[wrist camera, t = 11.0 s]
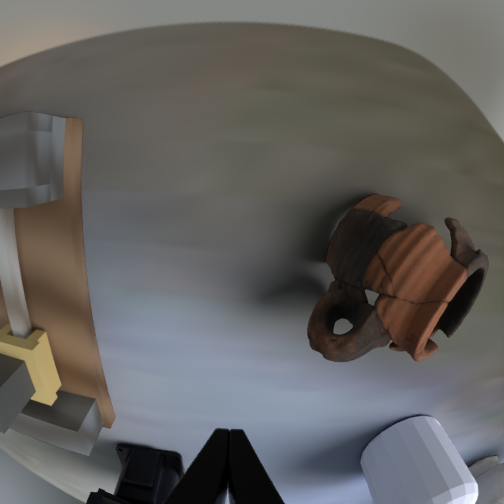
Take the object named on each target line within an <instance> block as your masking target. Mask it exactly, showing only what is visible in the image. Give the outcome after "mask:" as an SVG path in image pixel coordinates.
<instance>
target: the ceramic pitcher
mask: <svg viewBox="0 0 504 504" xmlns="http://www.w3.org/2000/svg"><path fill="white" fill-rule="evenodd" d="M497 462H498V456H491V457H487V458H484V459H481V460H478V461H477V462H475V463H474V464H473V465H471V466H470V467H469V468H468V469H469V471H470V472H471V474H472V476H473V477H474V479H475V481H476V482H477V484H478V497H477V500H476V503H475V504H504V463H501V464H499V465H497Z"/></svg>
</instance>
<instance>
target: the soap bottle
mask: <svg viewBox="0 0 504 504" xmlns="http://www.w3.org/2000/svg"><path fill="white" fill-rule="evenodd" d="M360 463H361V466H362V469H363V472H364V475H365V478H366V481H367V484H368V487H369V490H370V493H371V496H372V499H373V502H374V504H475V503H476V500H477V497H478V484H477V482H476V481H475V479H474V477H473V476H472V474H471V472H470V471H469V469H468V467H467V466H466V464H465V463H464V461H463V459H462V458H461V456H460V454H459V453H458V451H457V450H456V448H455V446H454V445H453V443H452V442H451V440H450V439H449V437H448V435H447V434H446V432H445V431H444V429H443V428H442V426H441V425H440V423H439V422H438V421H437V420H436V419H435V418H433V417H429V416H417V417H412V418H408V419H406V420H403V421H401V422H399V423H396V424H394V425H392V426H391V427H389V428H388V429H386V430H384V431H383V432H381V433H380V434H379V435H378V436H376V437H375V438H374V439H373V440H372V441H371V442H370V443H369V444H368V445H367V447H366V448H365V450H364V451H363V453H362V457H361V462H360Z"/></svg>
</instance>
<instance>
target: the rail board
mask: <svg viewBox="0 0 504 504" xmlns="http://www.w3.org/2000/svg"><path fill="white" fill-rule="evenodd" d="M82 133H83V120H82V119H78V118H73V117H71V118H62V117H57V116H52V115H47V114H41V113H36V112H30V111H27V112H22V113H18V114H14V115H10V116H6V117H3V118H0V329H2V328H3V327H4V326H5V325H7V324H8V323H9V324H11V328H12V332H13V335H14V337H18V338H22V339H27V338H28V337H29V336H30V335H31V334H32V333H33V332H34V331H35V330H41V331H45V332H46V333H47V337H48V341H49V345H50V349H51V352H52V356H53V359H54V363H55V366H56V369H57V373H58V376H59V379H60V382H61V386H60V388H59V389H58V390H57V392H56V395H57V399H56V400H55V401H54V403H53V404H52V406H50V405H47V404H44V403H41V402H38V401H35V400H32V399H30V400H29V401H28V403H27V404H26V405H25V407H24V408H23V409H22V411H21V412H20V413H19V415H18V416H17V417H16V419H15V420H14V421H13V423H12V424H11V425H10V427H9V428H11V429H13V430H15V431H18V432H20V433H22V434H25V435H27V436H30V437H32V438H35V439H38V440H40V441H43V442H46V443H48V444H51V445H54V446H57V447H60V448H63V449H66V450H69V451H73V452H76V453H79V454H83V455H86V456H89V455H90V453H91V450H92V448H93V446H94V444H95V442H96V440H97V437H98V435H99V433H100V431H101V429H102V427H105V428H111V426H112V424H113V422H114V420H115V414H114V411H113V407H112V404H111V400H110V397H109V393H108V389H107V385H106V381H105V377H104V373H103V368H102V364H101V360H100V355H99V350H98V345H97V340H96V335H95V329H94V324H93V318H92V312H91V305H90V298H89V291H88V283H87V275H86V265H85V255H84V243H83V228H82V205H81V155H82Z"/></svg>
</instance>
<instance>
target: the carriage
mask: <svg viewBox="0 0 504 504" xmlns="http://www.w3.org/2000/svg"><path fill="white" fill-rule="evenodd" d="M60 386H61V382H60V379H59V376H58V373H57V369H56V366H55V363H54V359H53V356H52V352H51V349H50V345H49V341H48V337H47V333H46V332H45V331H41V330H35V331H34V332H33V333H32V334H31V335H30V336H29V337H28V338H27V339H22V338H18V337H14V335H13V332H12V328H11V324H9V323H8V324H7V325H5V326H4V327H3V328H2V329H0V432H2V433H4V434H5V432H6V431H7V430H8V428H9V427H10V425H11V424H12V423H13V421H14V420H15V419H16V417H17V416H18V415H19V413H20V412H21V411H22V409H23V408H24V407H25V405H26V404H27V403H28V401H29V400H30V399H32V400H35V401H38V402H41V403H44V404H47V405H50V406H52V404H53V403H54V401H55V400H56V399H57V395H56V392H57V390H58V389H59V388H60Z"/></svg>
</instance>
